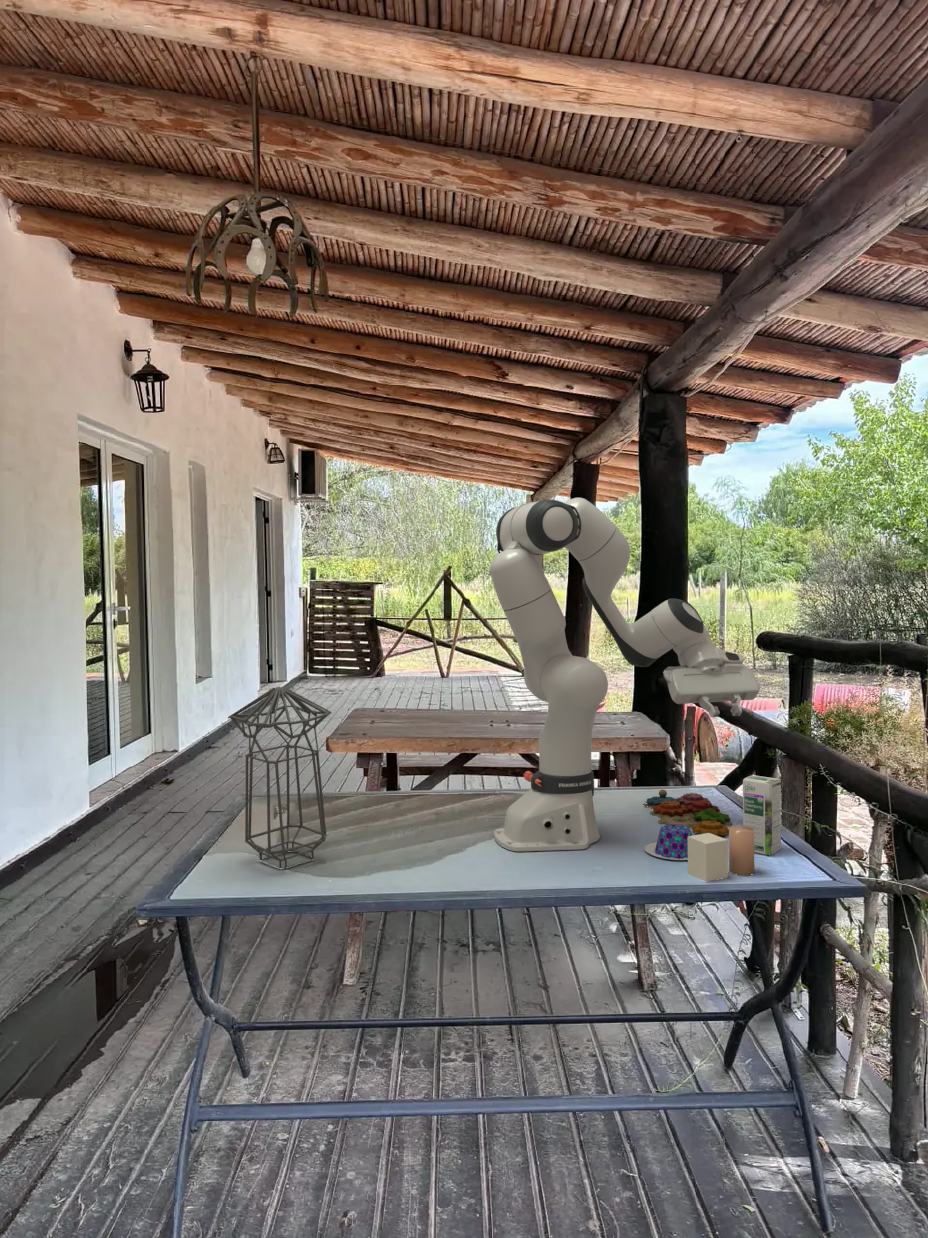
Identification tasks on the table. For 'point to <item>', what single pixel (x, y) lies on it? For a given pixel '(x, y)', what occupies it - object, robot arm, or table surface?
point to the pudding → (671, 842)
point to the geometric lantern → (274, 695)
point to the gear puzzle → (689, 813)
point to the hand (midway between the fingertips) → (726, 715)
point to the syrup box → (763, 812)
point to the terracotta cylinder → (741, 850)
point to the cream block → (707, 857)
